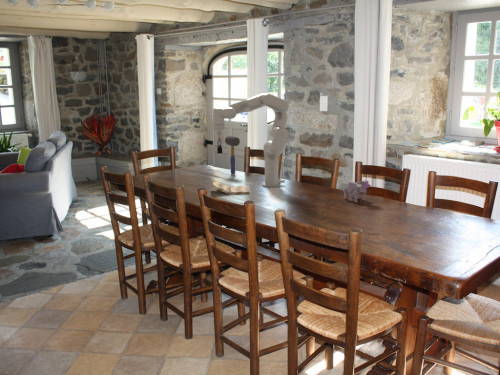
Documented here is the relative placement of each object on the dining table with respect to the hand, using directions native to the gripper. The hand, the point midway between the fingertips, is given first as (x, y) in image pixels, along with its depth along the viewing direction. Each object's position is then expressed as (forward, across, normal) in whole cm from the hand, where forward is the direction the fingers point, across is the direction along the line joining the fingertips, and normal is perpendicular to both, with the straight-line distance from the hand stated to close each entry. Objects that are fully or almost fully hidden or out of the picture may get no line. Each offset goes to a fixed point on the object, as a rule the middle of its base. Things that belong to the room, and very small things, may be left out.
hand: (219, 152), depth 334 cm
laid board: (+26, -5, -12) cm, 29 cm away
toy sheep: (+27, -42, -84) cm, 97 cm away
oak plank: (+23, -6, +1) cm, 24 cm away
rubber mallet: (+26, +57, -10) cm, 63 cm away
